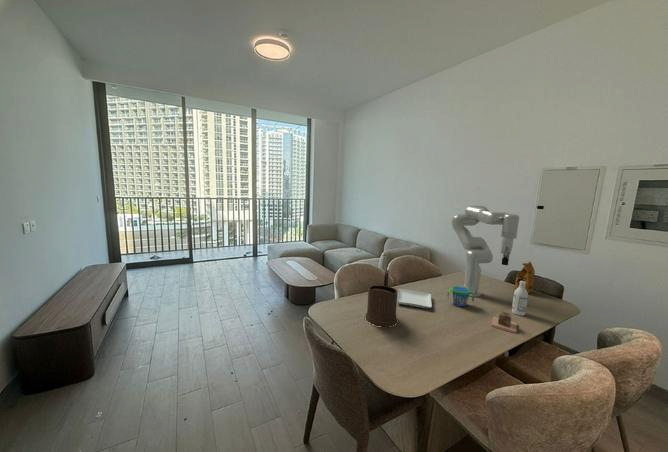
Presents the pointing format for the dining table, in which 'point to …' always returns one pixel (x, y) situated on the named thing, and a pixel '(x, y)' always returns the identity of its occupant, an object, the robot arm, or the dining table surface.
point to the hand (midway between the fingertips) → (505, 262)
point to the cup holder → (382, 304)
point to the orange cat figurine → (526, 277)
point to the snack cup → (460, 295)
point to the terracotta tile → (510, 329)
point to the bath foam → (520, 299)
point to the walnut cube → (504, 318)
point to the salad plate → (414, 298)
